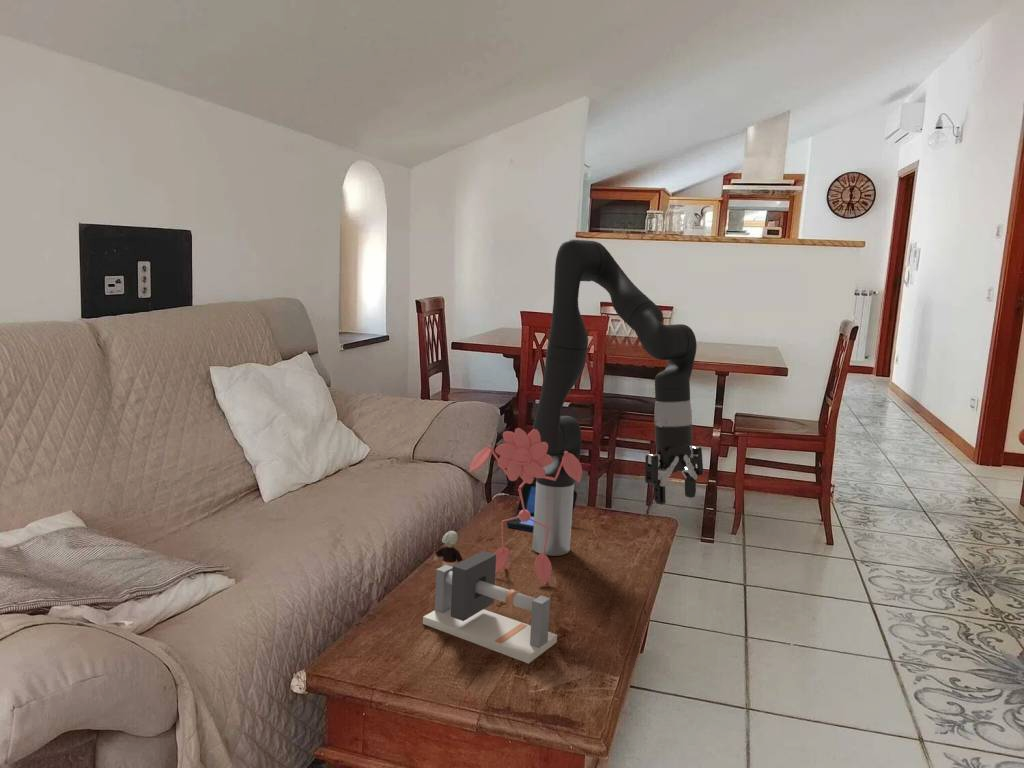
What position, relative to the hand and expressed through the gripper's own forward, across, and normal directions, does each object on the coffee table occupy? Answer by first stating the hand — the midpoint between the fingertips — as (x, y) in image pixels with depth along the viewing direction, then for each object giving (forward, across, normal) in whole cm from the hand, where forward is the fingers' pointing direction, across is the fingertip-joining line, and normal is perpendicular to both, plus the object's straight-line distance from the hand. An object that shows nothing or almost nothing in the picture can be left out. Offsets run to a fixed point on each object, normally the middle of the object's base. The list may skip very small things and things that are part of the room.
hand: (675, 500), depth 164 cm
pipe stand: (+21, +40, -10) cm, 46 cm away
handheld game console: (+17, -5, -55) cm, 58 cm away
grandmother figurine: (+18, +37, -31) cm, 52 cm away
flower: (+19, +23, -26) cm, 40 cm away
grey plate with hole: (+17, +42, -13) cm, 47 cm away
